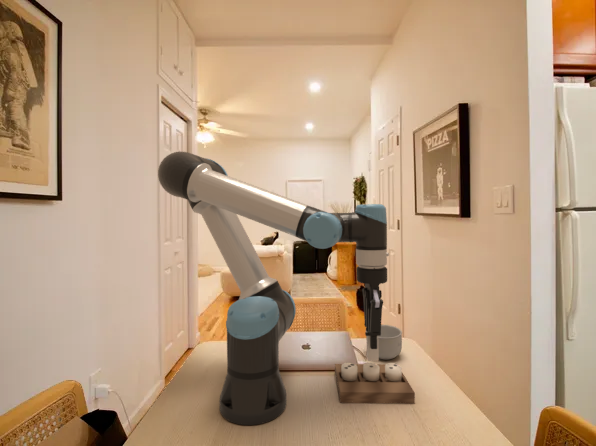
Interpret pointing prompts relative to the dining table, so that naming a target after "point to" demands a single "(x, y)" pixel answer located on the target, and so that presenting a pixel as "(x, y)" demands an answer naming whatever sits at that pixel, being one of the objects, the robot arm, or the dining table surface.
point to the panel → (373, 388)
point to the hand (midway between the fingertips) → (372, 359)
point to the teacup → (389, 342)
